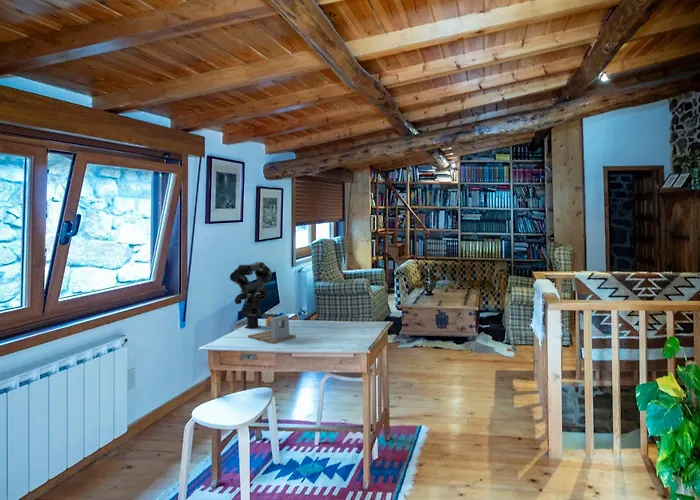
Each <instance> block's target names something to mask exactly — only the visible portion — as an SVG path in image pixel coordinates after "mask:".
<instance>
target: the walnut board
mask: <svg viewBox="0 0 700 500" xmlns="http://www.w3.org/2000/svg"><path fill="white" fill-rule="evenodd" d="M296 337H297V336H296V334H291V333H289V336H288V337H285V338H281V339H277V340H274V339H271V329H269V330H268V329H267V330H264V331H260V332H256V333H251V334H248V335H247V338H249V339H253V340H257V341H261V342H264V343H268V344H272V345H273V344H276V343H280V342H284V341H288V340H291V339H295V338H296Z"/></svg>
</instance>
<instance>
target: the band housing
mask: <svg viewBox="0 0 700 500" xmlns="http://www.w3.org/2000/svg"><path fill="white" fill-rule="evenodd" d="M272 317H273V318H271V321H270V327H269V328H270V330H271V339H274V340H277V339H281V338H285V337H288V336H289V334H290V322H289V321H290V320H289V319H290V317H289V315H286V314H284V315H278V316H272ZM279 321H282V326H281V327H279Z"/></svg>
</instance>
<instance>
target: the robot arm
mask: <svg viewBox="0 0 700 500" xmlns="http://www.w3.org/2000/svg"><path fill="white" fill-rule="evenodd" d="M253 274H255V277H256V281H255V282H251V281H249V278H248V277H247V276H252V275H253ZM272 276H273V273H272V270H271V269H270V268H269V266H267V265H266V264H265V262H263V261H256V262H254V263H250V264H239V265H238V267H237V268H235V269H234V271H233V272H232V273H230V274H229V279H230V281H231V282H233V283H235V284H236V285H238V286H239V288H240V293H237V295H236V296H235V298H234V303H235V304H236V305H238V304H239V305H240V304H242V301H244V303H243V304H242V307H241V313H242V316H243V318H246V325H245V326H244V328H246V329H251V330H252V329H253V330H254V329H256V328H261V325H259V318H261V316H262V312H261V310H260V309H261V305H260V301H261V300H265V299H266V298H267V296H268V294H269V290H268V289H266V288H265V289H264V287H265V285H266V284H267V283H269V282H270V280H271V278H272Z"/></svg>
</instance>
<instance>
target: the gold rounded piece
mask: <svg viewBox="0 0 700 500" xmlns="http://www.w3.org/2000/svg"><path fill="white" fill-rule="evenodd" d="M273 317H274V316H267V317H266V319H265V325H266V326H267V327H268V328H271V327H270V321H271V318H273ZM281 326H282V321H279V327H281Z"/></svg>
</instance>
